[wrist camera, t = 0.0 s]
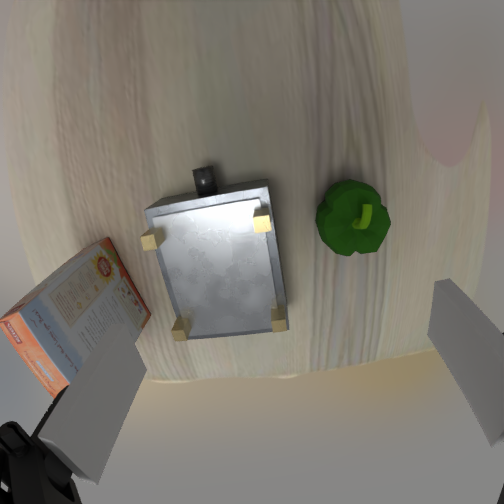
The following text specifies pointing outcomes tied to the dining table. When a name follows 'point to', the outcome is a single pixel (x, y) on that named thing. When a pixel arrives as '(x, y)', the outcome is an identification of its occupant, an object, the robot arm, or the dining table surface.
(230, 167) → the dining table surface
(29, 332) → the cracker box
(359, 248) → the bell pepper
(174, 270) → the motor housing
